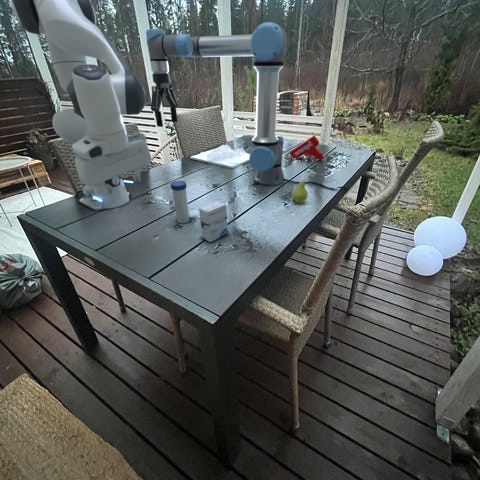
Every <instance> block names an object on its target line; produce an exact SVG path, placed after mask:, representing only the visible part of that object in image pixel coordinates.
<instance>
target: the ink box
mask: <svg viewBox="0 0 480 480" xmlns="http://www.w3.org/2000/svg"><path fill="white" fill-rule="evenodd" d="M198 213H199V221H200V233H201V237H202V238H203V239H204V240H205V241H207V242H209V243H211V242H213V241H216V240H217V239H219V238H221V237H223V236H226V235H227V234H228V214H227V213H228V211H227V204H226V203H224V202H221V201H219V200H217V201H213V202H211V203H208V204H205V205H204V206H201V207H198Z"/></svg>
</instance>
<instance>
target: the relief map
mask: <svg viewBox="0 0 480 480" xmlns="http://www.w3.org/2000/svg"><path fill="white" fill-rule="evenodd" d="M249 156H250V153H247V152H246V151H245V150H244V148H238V149H233V148H231V147H230V146H229V145H228V144H222V145H219V147H215V148H213V149H210V150H206V151H201V152H200V153H198V154H194V155H191V156H190V159H191V160H196V161H199V162H203V163H207V164H212V165H215V166H221V167H224V168H229V169H235V168H237V167H239V166H241V165H244V164H246V163H250V160H249Z"/></svg>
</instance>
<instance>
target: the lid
mask: <svg viewBox="0 0 480 480" xmlns="http://www.w3.org/2000/svg"><path fill="white" fill-rule="evenodd" d="M185 188H186V189H187V183H186V181H184V180H173V181H172V182H171V183H170V189H171V191H172V190H183V189H185Z"/></svg>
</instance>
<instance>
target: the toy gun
mask: <svg viewBox="0 0 480 480" xmlns="http://www.w3.org/2000/svg"><path fill="white" fill-rule="evenodd" d="M319 144H320V141H319V140H318V138H317V136H316V135H312V136H311V137H310V138H308V139H306V140H305V141H302V143H300V144H299V145H297V146H296V147H294V148H293V149H291V150H290V151H289V155H290V157H291V158H292V160H294V161H295V160H298V159H299V158H301V157H302V156H304V157H305V158H308V157H310V156H312V157H313V158H314V159H315V160H316V162H318V163H319V161H322V160H323V157H324V153H323V152H322V151H320V150H319V149H318V148H317V147H318V146H319ZM294 158H296V159H294ZM317 159H319V161H317ZM320 159H321V160H320Z"/></svg>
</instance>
